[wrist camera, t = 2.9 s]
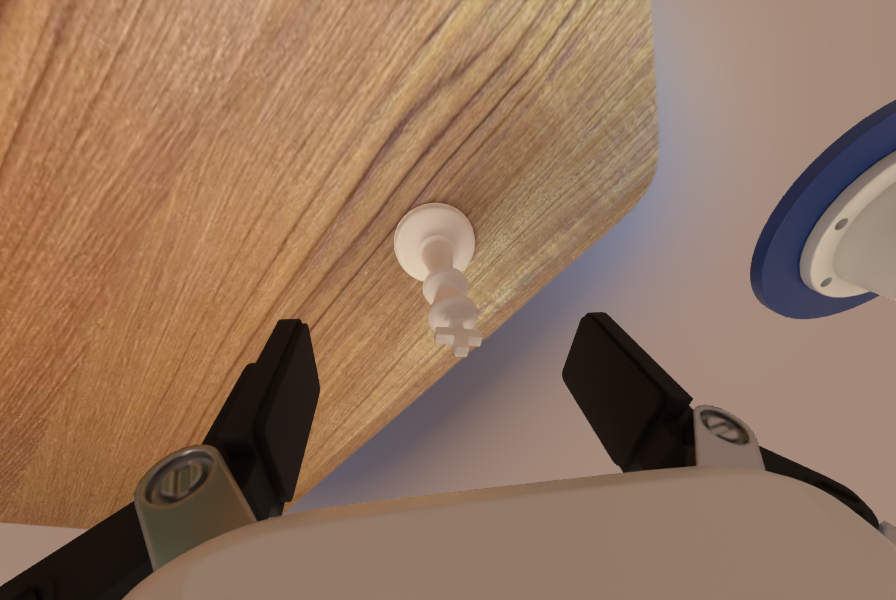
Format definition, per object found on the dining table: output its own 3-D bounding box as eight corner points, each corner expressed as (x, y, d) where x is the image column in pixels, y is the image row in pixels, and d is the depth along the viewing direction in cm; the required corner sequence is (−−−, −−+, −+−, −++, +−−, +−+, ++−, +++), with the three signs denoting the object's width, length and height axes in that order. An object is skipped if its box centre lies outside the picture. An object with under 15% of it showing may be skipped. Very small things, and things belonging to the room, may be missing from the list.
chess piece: (464, 282, 21) (508, 403, 13) (389, 274, 20) (382, 399, 11) (482, 209, 18) (552, 297, 10) (398, 195, 17) (397, 281, 9)
